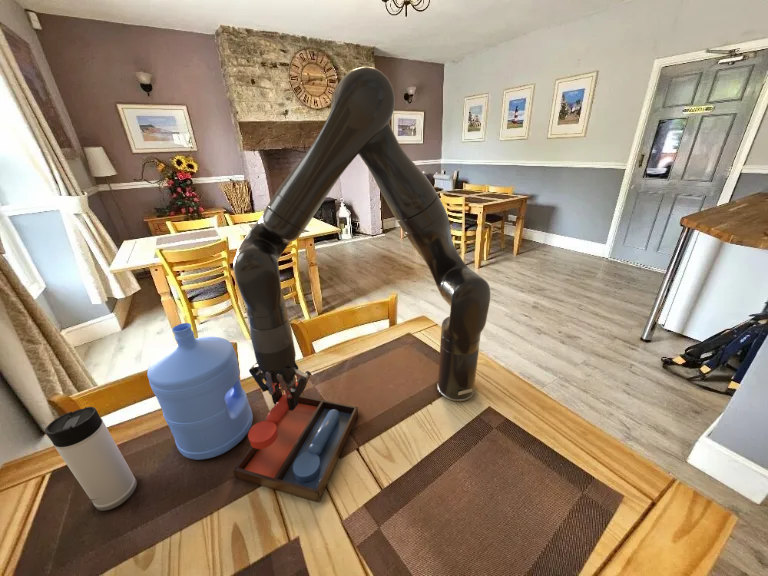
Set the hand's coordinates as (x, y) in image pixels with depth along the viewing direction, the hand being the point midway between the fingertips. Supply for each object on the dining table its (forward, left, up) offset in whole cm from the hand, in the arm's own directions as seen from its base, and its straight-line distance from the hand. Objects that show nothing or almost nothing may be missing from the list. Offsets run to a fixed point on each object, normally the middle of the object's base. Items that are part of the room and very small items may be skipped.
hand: (286, 405), depth 68 cm
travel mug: (+21, -25, -8) cm, 33 cm away
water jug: (+4, -17, -8) cm, 19 cm away
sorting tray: (+2, +4, -7) cm, 9 cm away
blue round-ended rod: (+3, +9, -7) cm, 11 cm away
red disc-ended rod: (+3, 0, 0) cm, 3 cm away
